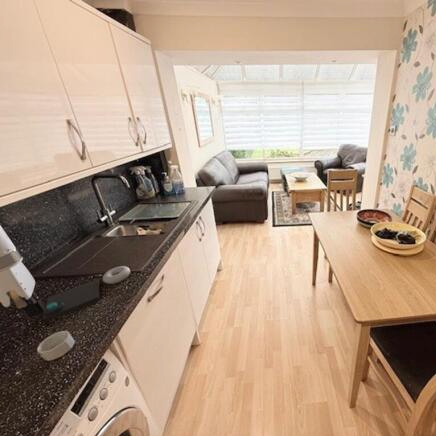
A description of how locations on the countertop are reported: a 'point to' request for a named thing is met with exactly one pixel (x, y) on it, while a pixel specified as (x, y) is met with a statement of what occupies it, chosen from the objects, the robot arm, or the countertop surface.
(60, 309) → the scale
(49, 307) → the tare button
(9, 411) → the countertop surface
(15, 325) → the countertop surface
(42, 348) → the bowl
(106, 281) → the donut
